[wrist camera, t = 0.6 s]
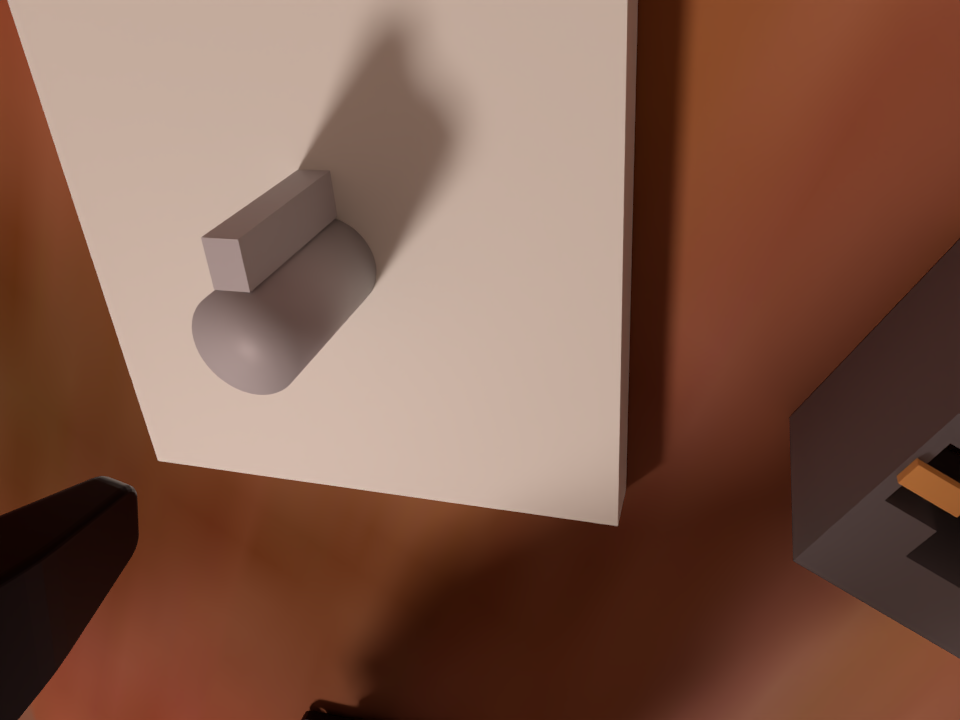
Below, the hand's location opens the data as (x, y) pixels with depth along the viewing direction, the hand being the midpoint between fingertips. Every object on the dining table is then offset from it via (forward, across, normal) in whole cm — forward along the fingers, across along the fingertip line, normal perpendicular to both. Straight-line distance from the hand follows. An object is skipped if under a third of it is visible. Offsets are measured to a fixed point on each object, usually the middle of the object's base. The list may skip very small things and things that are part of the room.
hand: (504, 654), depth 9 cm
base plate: (+12, +7, +3) cm, 14 cm away
